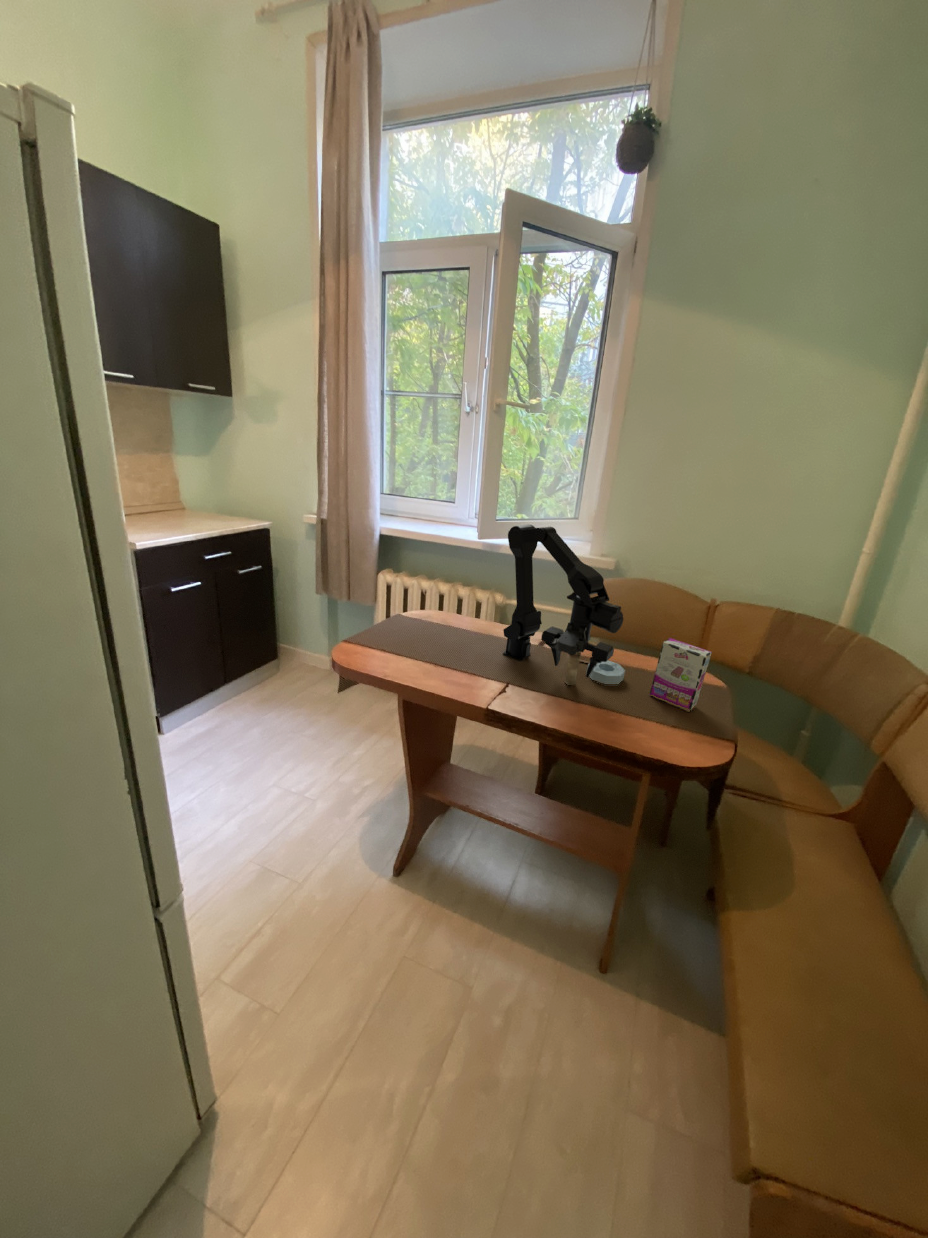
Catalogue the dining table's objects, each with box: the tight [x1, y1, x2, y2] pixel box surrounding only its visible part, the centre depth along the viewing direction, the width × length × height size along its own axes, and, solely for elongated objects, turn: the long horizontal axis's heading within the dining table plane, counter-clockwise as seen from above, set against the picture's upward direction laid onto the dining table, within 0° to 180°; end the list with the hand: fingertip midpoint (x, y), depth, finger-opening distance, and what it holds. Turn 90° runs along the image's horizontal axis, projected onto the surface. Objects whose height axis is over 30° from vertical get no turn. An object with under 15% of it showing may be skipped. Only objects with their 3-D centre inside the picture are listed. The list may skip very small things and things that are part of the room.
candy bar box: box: [649, 637, 712, 711], centre depth 127 cm, size 11×5×16 cm, turn 47°
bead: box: [585, 660, 626, 685], centre depth 139 cm, size 10×10×3 cm
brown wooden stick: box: [579, 658, 590, 665], centre depth 146 cm, size 12×1×1 cm, turn 67°
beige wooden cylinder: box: [564, 652, 582, 686], centre depth 133 cm, size 3×3×10 cm
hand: (571, 671), depth 133 cm, fingers open, 9 cm apart
